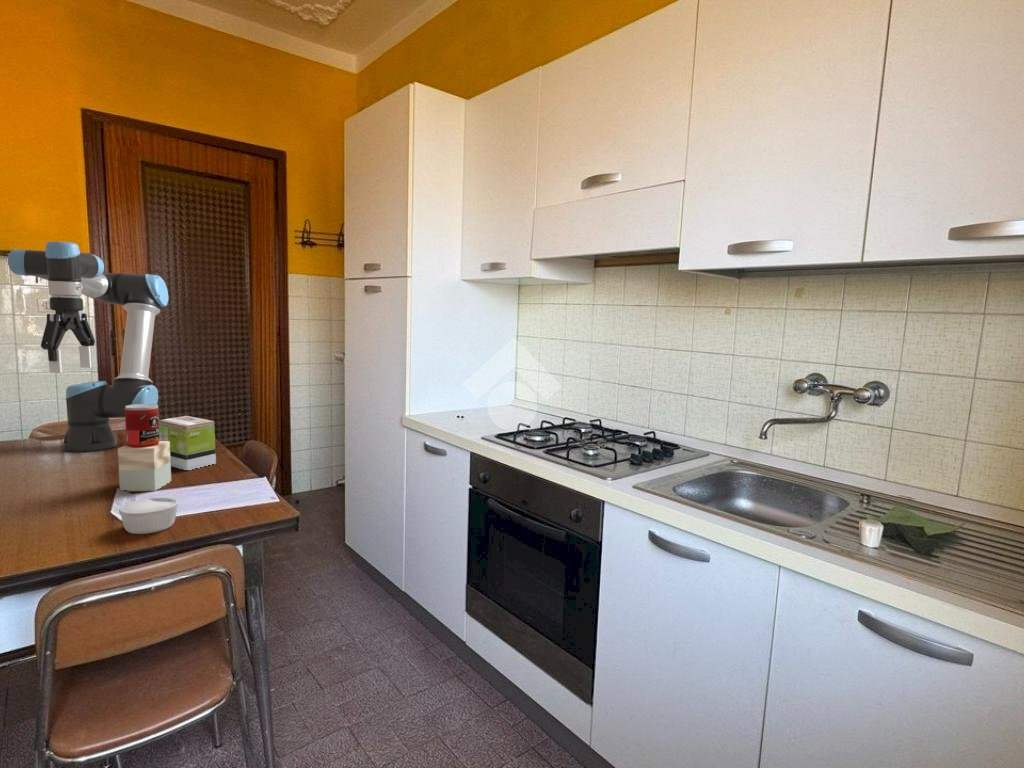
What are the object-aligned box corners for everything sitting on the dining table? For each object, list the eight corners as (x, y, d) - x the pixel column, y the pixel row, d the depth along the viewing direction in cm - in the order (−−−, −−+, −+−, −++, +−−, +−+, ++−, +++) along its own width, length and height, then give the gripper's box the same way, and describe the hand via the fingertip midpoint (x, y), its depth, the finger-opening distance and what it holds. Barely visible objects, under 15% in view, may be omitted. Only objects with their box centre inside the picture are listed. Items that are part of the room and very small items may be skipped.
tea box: (158, 464, 177) (156, 419, 175) (188, 458, 186) (187, 414, 184) (186, 471, 170) (184, 424, 168) (217, 464, 179) (215, 419, 177)
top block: (136, 461, 158) (135, 441, 157) (170, 461, 159) (169, 441, 159) (118, 470, 149) (117, 448, 149) (154, 469, 150) (153, 448, 150)
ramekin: (188, 518, 132) (188, 497, 131) (160, 537, 121) (159, 513, 120) (141, 517, 132) (140, 496, 131) (108, 536, 121) (107, 512, 120)
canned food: (143, 448, 149) (141, 408, 148) (119, 446, 151) (117, 406, 149) (166, 442, 157) (165, 404, 155) (143, 440, 158) (141, 402, 157)
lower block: (138, 481, 159) (137, 461, 158) (171, 481, 160) (170, 461, 159) (119, 491, 150) (118, 470, 149) (155, 491, 151) (154, 469, 150)
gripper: (50, 296, 147) (57, 375, 150) (105, 298, 172) (110, 365, 174) (19, 295, 146) (26, 374, 149) (79, 297, 170) (84, 365, 173)
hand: (71, 370), depth 162 cm, fingers open, 13 cm apart
